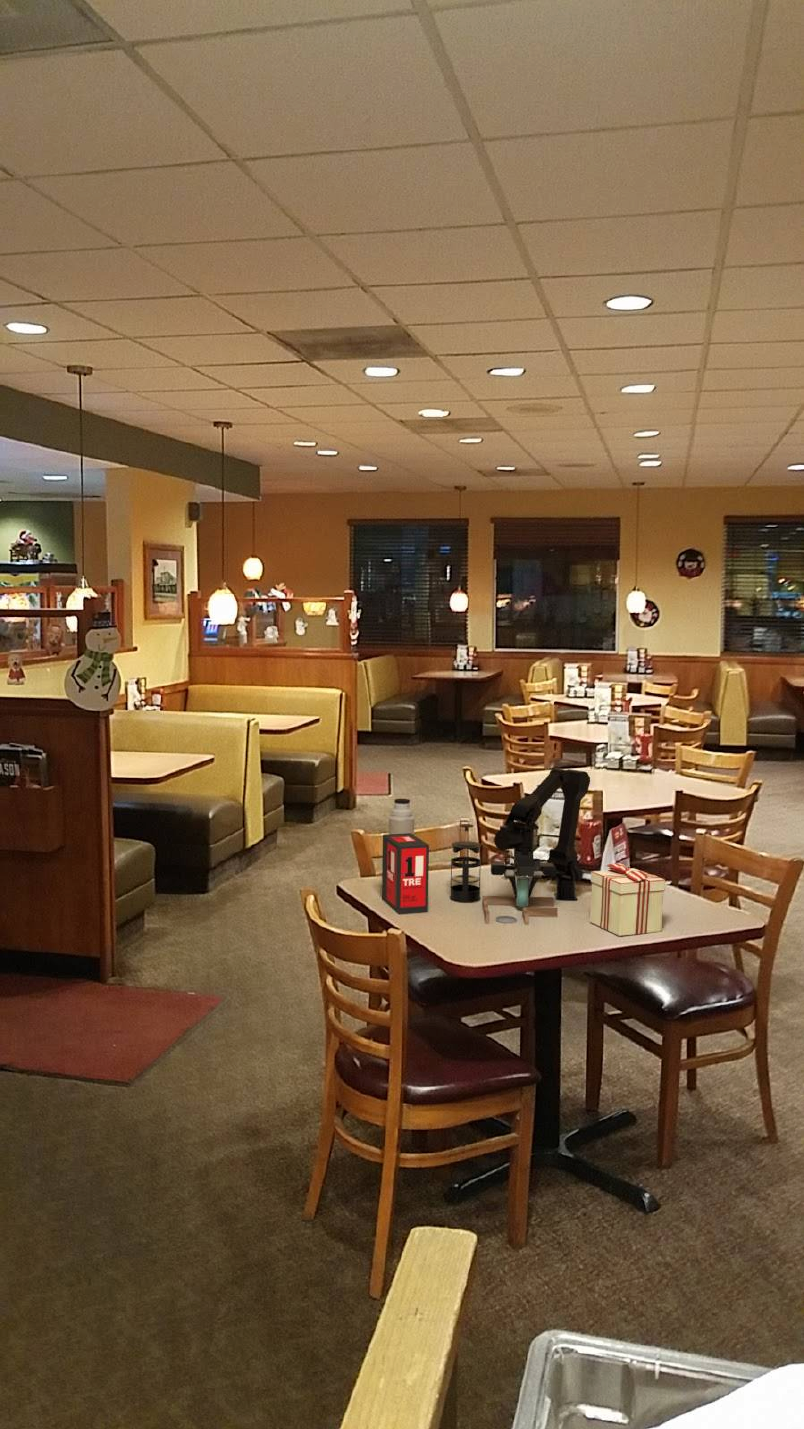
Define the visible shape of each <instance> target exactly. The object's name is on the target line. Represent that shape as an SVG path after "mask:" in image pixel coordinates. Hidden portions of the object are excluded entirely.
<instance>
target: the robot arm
mask: <svg viewBox="0 0 804 1429" xmlns="http://www.w3.org/2000/svg"><path fill="white" fill-rule="evenodd" d="M590 785H591V777H590V776H589V773H588V772H587V771H585V770H577V769H571V768H568V769H563V768H557V767H554V768H552V769H551V770H550V771H549V774H548V775H547V776H546V777H545V778H544V779H543V780H542V781H541V783H540V784H539V785H538V786H537V787H536V788H535V789H534V790H533V791H532V792H531V793H530V794H529V795H527V796H525V797H521V798H520V799H518V800H517V801H516V802H514V804H513V805H512V807H511V809H510V811H509V813H508V816H507V817H506V820H505V821H504V825H502V826H500V827H499V830H498V831H497V832H496V833H495V835H494V836H493V842H494V845H495V847H496V848H497V849H498V850H499V851H507V850H513V864H511V865H510V864H505V861H492V862H491V863H490V872H491V875H492V876H503V875H504V878H505V879H509V882H510V883H511V884H510V885H511V887H512V891H513V895H514V897H515V898H517V877H516V875H517V876H518V877H529V893H528V898H530V897H532V893H533V890H534V887H535V885H536V883H537V881H539V880H541V879H542V878H543V876H542V874H543V875H544V877H552V878H553V877H554V878H556V892H554V893H553V895H554V897H555V900H556V901H578V897H577V895H576V885H577V884H576V882H580V880H582V879H583V876H584V871H583V870H582V869H581V867H580V866H579V865H578V858H579V856H578V854H577V852H576V849H575V841H576V836H577V828H578V821H579V815H580V808H581V802H582V799H583V798H584V797H585V796H586V795H587V794H588V792H589V787H590ZM559 789H561V792H562V794H563V798H564V801H563V806H562V808H563V809H562V814H561V820H560V825H559V826H560V827H559V831H558V832H559V833H558V840H557V845H555V847H553V848H551V849H550V850H549V851H548V852H549V853H548V854H549V855H548V860H547V862H542V861H541V858H534V847H535V830H538V829H539V828H540V827H539V825H538V824H537V823H536V822H537V821H538V820H539V819H540V816H541V815H542V811H543V806H544V805H546V804H547V802H548V801H549V800H550V799H551V798H552V796H553V795H554V794H556V793H557V791H558V790H559ZM515 873H516V874H515Z"/></svg>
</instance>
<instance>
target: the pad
mask: <svg viewBox="0 0 804 1429" xmlns="http://www.w3.org/2000/svg"><path fill="white" fill-rule="evenodd" d="M517 920H518V919H517V917H514V916H509V915H501V916H500V915H499V916H496V917H495V921H496V922H498V923H502V924H513V923H516V922H517Z"/></svg>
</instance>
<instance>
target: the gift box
mask: <svg viewBox="0 0 804 1429" xmlns="http://www.w3.org/2000/svg"><path fill="white" fill-rule="evenodd" d="M606 867H607V868H608V869H606V870H594V871H591V872H590V882H591V895H590V896H591V898H590V900H591V902H590V919H589V922H590V923H591V924H592V925H595V926H597V927H599V928H601V929H603V930H604V931H608V932H610V933H612V934H614V935H616V936H619V937H623V936H624V937H625V936H633V935H642V934H649V933H650V934H651V933H659V932H662V926H663V924H662V923H663V906H664V892H665V891H666V879H665V878H664V877H663V878H662V877H659V876H657V875H655V874H650V873H648V872H645V871H643V870H639V869H637V868H633V867H632V868H630V866H627V865H625V864H624V863H621V862H614V863H608V864H607V865H606Z"/></svg>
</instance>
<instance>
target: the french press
mask: <svg viewBox="0 0 804 1429" xmlns="http://www.w3.org/2000/svg"><path fill="white" fill-rule="evenodd" d="M459 827H461V828H464V832H465V840H461V841H460V840H459V841H456V842H455V841H454V842H452V843H451V847H452V852H453V853H455V854H457V853H459V852H461V851H462V850H465V852H464V854H465V855H464V856H457V857H453V858H451V859H450V895H449V899H450V901H452V902H456V903H463V904H469V903H470V904H472V903H477V902H480V901H481V864H482V863H481V862H482V861H481V859H480V858H477V857H472V856H468V854H467V853H468V850H470V851H472V853H475V854H479V853H480V848H481V847H482V844H481V843H479V842H476V841H468V831H469V828H474V825H473V824H470V823H462V824H460V825H459ZM460 862H461V863H460ZM469 862H472V863H469ZM453 867H455V868H460V869H461V868H462V874H457V875H456V874H455V875H453ZM474 868H479V874H478V876H479V877H478V876H476V875H473V874H471V875H470V869H474ZM452 881H453V882H454V883H458V884H454V885H453V884H452ZM475 883H478V886H477V885H474V884H475Z"/></svg>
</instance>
